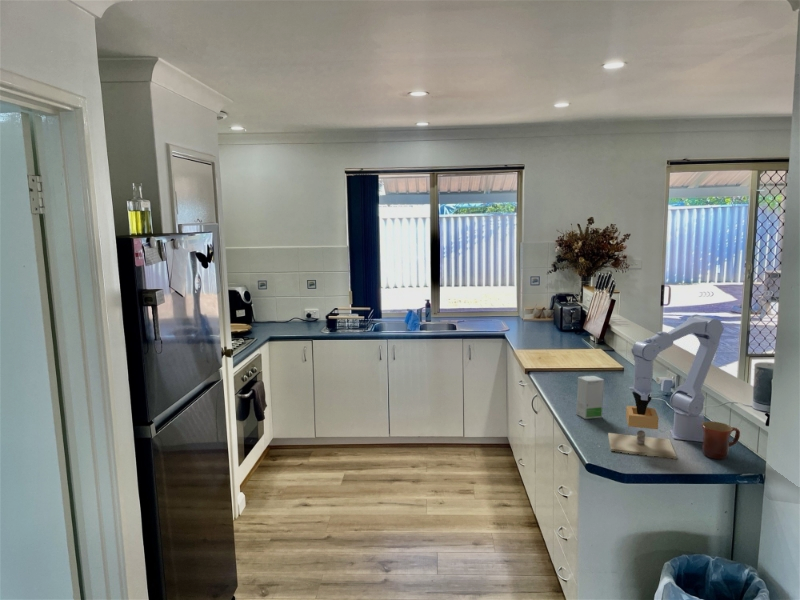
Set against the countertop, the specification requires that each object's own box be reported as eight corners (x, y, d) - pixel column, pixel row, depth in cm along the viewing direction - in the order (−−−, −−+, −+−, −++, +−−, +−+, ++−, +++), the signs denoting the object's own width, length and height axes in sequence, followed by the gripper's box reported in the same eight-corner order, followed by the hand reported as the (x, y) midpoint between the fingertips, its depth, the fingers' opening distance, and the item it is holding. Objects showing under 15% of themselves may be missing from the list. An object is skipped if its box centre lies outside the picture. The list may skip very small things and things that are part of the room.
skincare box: (584, 419, 207) (586, 381, 204) (574, 413, 213) (576, 376, 211) (603, 417, 209) (605, 379, 207) (592, 411, 215) (594, 374, 213)
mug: (709, 462, 170) (712, 431, 168) (693, 450, 178) (696, 421, 177) (746, 461, 170) (748, 431, 169) (728, 449, 179) (731, 420, 177)
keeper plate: (668, 442, 185) (670, 426, 184) (676, 459, 172) (677, 442, 171) (608, 435, 191) (608, 420, 190) (610, 451, 178) (611, 435, 177)
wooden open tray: (653, 418, 183) (654, 408, 183) (657, 429, 175) (658, 418, 174) (626, 416, 186) (626, 405, 186) (628, 426, 178) (629, 415, 177)
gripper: (628, 369, 190) (626, 405, 192) (632, 381, 176) (630, 419, 178) (649, 371, 188) (647, 407, 190) (655, 382, 174) (653, 422, 176)
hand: (640, 413), depth 184 cm, fingers closed on wooden open tray
